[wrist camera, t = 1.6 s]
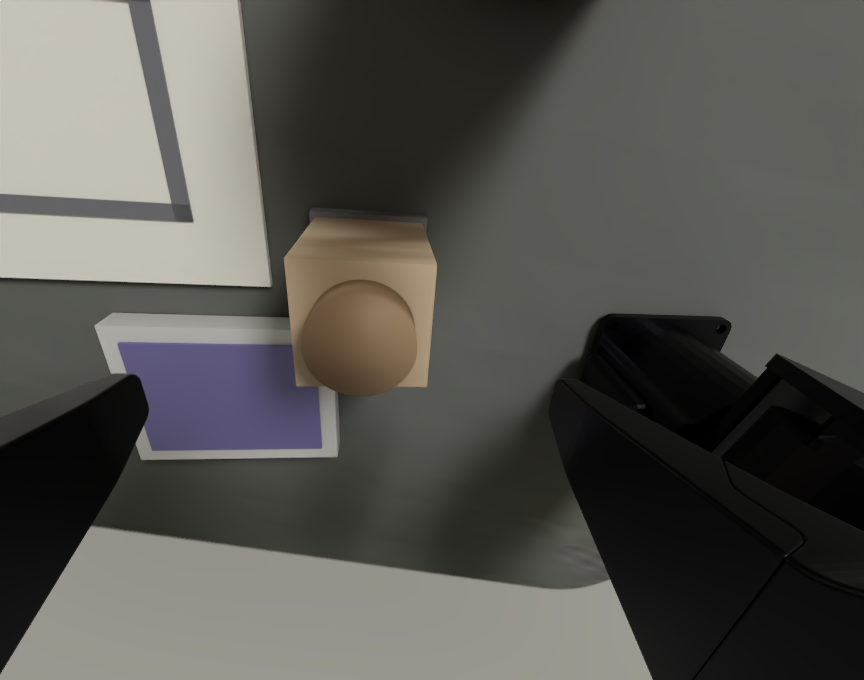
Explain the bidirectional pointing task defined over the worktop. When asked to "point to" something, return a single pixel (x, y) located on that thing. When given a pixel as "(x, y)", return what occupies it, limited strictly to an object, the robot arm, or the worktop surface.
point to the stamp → (361, 300)
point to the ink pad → (220, 387)
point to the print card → (129, 144)
